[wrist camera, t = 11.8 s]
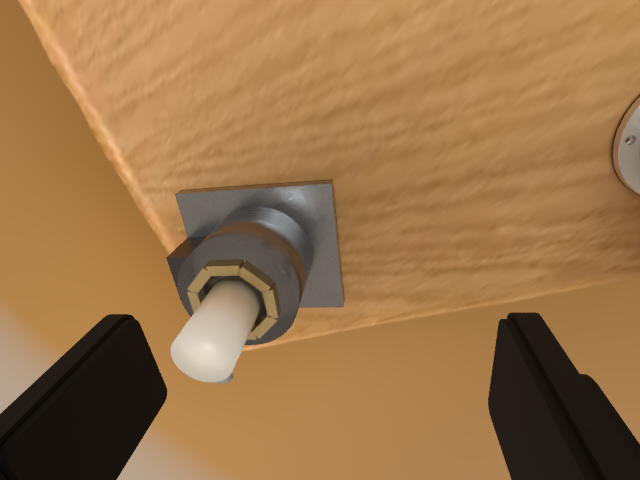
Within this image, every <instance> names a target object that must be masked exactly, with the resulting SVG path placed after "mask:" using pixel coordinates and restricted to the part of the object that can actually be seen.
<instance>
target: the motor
mask: <svg viewBox="0 0 640 480" xmlns="http://www.w3.org/2000/svg"><path fill="white" fill-rule="evenodd" d="M175 196H176V199H177V203H178V206H179V209H180V213H181V216H182V219H183V222H184V226H185V229H186V232H187V236H188V238H187V239H186V240H185V241H184V242H183V243H182V244H181V245H180V246H178V247H177V248H176V249H175V250H174V251H173V252H172V253H171V254H170V255H169V256H168V257H167V261H168V264H169V266H170V269H171V273H172V275H173V278H174V281H175V284H176V287H177V290H178V293H179V296H180V299H181V301H182V304H183V306H184V307H185V309H186V311H187V312H188V313H189V315H190V316H191V317H192V315H193V314H194V312H195V311H196V310H197V308H198V307H199V305H200V304H201V303H202V301H203V300H204V298H205V297H206V296H207V294H208V293H209V291H210V290H211V289H212V287H213V286H214V284H215V283H216V282H217V281H218V280H219V279H220V278H222V277H224V276H237V275H238V276H240V277H241V278H243V279H244V280H246V281H247V282H248V283H250V284H251V285H253V286H254V287H255V288H257V289H258V290H260V292H261V294H262V297H263V304H262V307H261V309H260V312H259V314H258V316H257V318H256V320H255V323H254V325H253V327H252V329H251V331H250V334H249V336H248V338H247V340H246V342H245V345H257V344H263V343H267V342H270V341H273V340H275V339H277V338H278V337H280V336H282V335H283V334H284V333H285V332H286V331H287V330H288V329H289V328H290V327H291V325H292V324H293V322H294V320H295V317H296V314H297V311H298V308H299V307H343V306H344V292H343V282H342V272H341V261H340V251H339V241H338V231H337V221H336V211H335V201H334V191H333V181H332V180H318V181H304V182H290V183H275V184H261V185H247V186H233V187H219V188H204V189H190V190H181V191H179V192H178V193H176V194H175Z"/></svg>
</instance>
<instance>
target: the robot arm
mask: <svg viewBox="0 0 640 480" xmlns="http://www.w3.org/2000/svg"><path fill="white" fill-rule="evenodd" d="M626 138H627V139H626ZM613 161H614V167H615V170H616V172H617V174H618V177H619V178H620V179H621V181H622V182H623V183H624V184H625V185H626V186H627V187H628V188H630V189H631V190H632V191H634V192H635V193H637V194H639V195H640V97H639V98H638V99H637V100H636V101H635V102H634V103H633V105H632V106H631V107H630V109H629V110H628V112H627V113H626V114H625V116H624V118H623V120H622V122H621V124H620V126H619V128H618V130H617V133H616V137H615V140H614V145H613ZM166 396H167V388H166V385H165V383H164V381H163V378H162V376H161V373H160V372H159V369H158V366H157V364H156V361H155V359H154V357H153V354H152V352H151V349H150V347H149V345H148V343H147V340H146V338H145V336H144V333H143V330H142V328H141V326H140V323H139V322H138V321H137V320H135V319H134V317H133V316H132V315H128V314H117V315H116V314H111V315H107V316H106V317H104V318H103V319H102V320H101V321H100V322H99V323H98V324H96V325H95V326H94V327H93V328H92V329H91V330H90V331H89V332H88V333H87V334H86V335H85V336H84V337H82V338H81V339H80V340H79V341H78V342H77V343H76V344H75V345H74V346H73V347H72V348H71V349H70V350H69V351H68V352H66V353H65V355H63V356H62V357H61V358H60V359H59V360H58V361H57V362H56V363H55V364H54V365H52V366H51V367H50V368H49V369H48V370H47V371H46V372H45V373H44V374H43V375H42V376H41V377H40V378H39V379H38V380H36V381H35V382H34V383H33V384H32V385H31V386H30V387H29V388H28V389H27V390H26V391H25V392H23V393H22V394H21V395H20V396H19V397H18V398H17V399H16V400H15V401H14V402H13V403H12V404H11V405H10V406H8V407H7V409H5V410H4V411H3V412H2V413H1V414H0V480H116V479H117V478H118V476H119V475H120V473H121V471H122V470H123V468H124V467H125V465H126V463H127V462H128V460H129V459H130V457H131V455H132V454H133V452H134V450H135V449H136V447H137V446H138V444H139V442H140V441H141V439H142V438H143V436H144V434H145V433H146V431H147V430H148V428H149V426H150V425H151V423H152V422H153V420H154V418H155V417H156V415H157V414H158V412H159V410H160V409H161V407H162V405H163V404H164V402H165V400H166ZM488 406H489V412H490V416H491V419H492V422H493V425H494V428H495V431H496V434H497V437H498V440H499V443H500V446H501V449H502V452H503V455H504V458H505V461H506V464H507V467H508V470H509V473H510V476H511V479H512V480H640V444H639V443H638V441H637V440H636V438H635V437H634V436H633V434H632V433H631V431H630V430H629V428H628V427H627V426H626V424H625V423H624V421H623V420H622V418H621V417H620V416H619V414H618V413H617V411H616V410H615V408H614V407H613V406H612V404H611V403H610V401H609V400H608V398H607V397H606V396H605V394H604V393H603V391H602V390H601V388H600V387H599V386H598V384H597V383H596V382H595V381H594V380H593V379H592V378H591V377H590V376H588V375H585V374H579V372H578V371H577V369H576V368H575V367H574V365H573V364H572V362H571V361H570V359H569V358H568V356H567V355H566V353H565V352H564V350H563V349H562V347H561V346H560V344H559V343H558V341H557V340H556V338H555V337H554V335H553V334H552V332H551V331H550V329H549V328H548V326H547V325H546V323H545V322H544V320H543V319H542V317H541V316H540V315H539V314H538V313H509V314H508V316H507V319H501V320H500V321H499V325H498V332H497V340H496V347H495V354H494V362H493V369H492V376H491V384H490V392H489V398H488Z"/></svg>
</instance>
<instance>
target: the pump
mask: <svg viewBox="0 0 640 480" xmlns="http://www.w3.org/2000/svg"><path fill="white" fill-rule="evenodd" d="M262 304H263V297H262V294H261V292H260V290H258V289H257V288H255V287H254V286H253V285H251V284H250V283H248V282H247V281H246V280H244V279H243V278H241V277H240V276H238V275H237V276H224V277H222V278H220V279H219V280H218V281H217V282H216V283H215V284H214V286H213V287H212V289H211V290H210V291H209V293H208V294H207V296H206V297H205V298H204V300H203V301H202V303H201V304H200V305H199V307H198V308H197V310H196V311H195V312H194V314H193V315H192V317H191V318H190V319H189V321H188V322H187V324H186V325H185V326H184V328H183V329H182V331H181V332H180V333H179V335H178V336H177V338H176V339H175V340H174V342H173V344H172V346H171V356H172V359H173V361H174V363H175V364H176V365H177V367H178V368H179V369H180V370H181V371H182V372H184V373H185V374H187V375H188V376H190V377H192V378H194V379H197V380H199V381H204V382H218V383H219V384H226V383H228V382H229V381H231V380H232V378H233V373H232V371H233V369H234V367H235V364H236V362H237V360H238V358H239V356H240V353H241V351H242V349H243V347H244V345H245V342H246V340H247V338H248V336H249V334H250V331H251V329H252V327H253V325H254V323H255V320H256V318H257V316H258V314H259V312H260V309H261V307H262Z"/></svg>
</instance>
